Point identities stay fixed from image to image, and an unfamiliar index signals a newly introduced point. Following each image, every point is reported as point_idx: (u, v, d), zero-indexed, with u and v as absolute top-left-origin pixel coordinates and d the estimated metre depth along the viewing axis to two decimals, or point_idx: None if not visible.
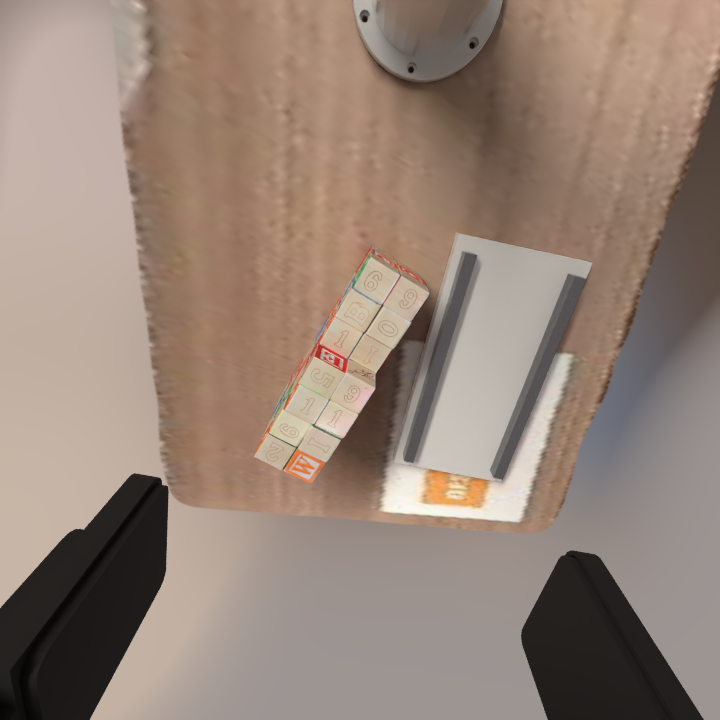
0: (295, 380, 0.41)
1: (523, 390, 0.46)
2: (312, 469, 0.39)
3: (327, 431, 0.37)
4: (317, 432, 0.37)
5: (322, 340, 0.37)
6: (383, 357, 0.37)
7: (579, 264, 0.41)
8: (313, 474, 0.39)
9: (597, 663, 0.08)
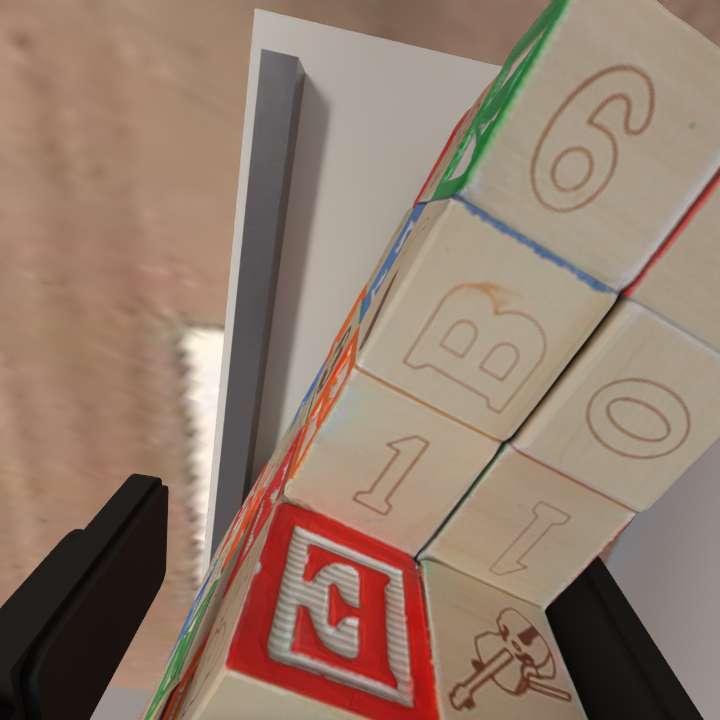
0: (217, 584, 0.12)
1: None
2: None
3: None
4: None
5: (296, 482, 0.08)
6: (590, 548, 0.08)
7: None
8: None
9: (597, 663, 0.08)
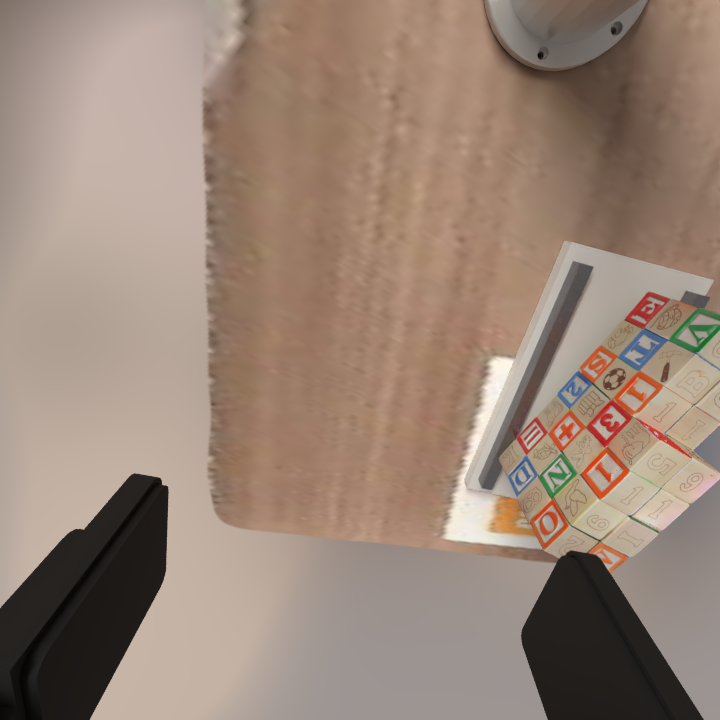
0: (569, 452, 0.35)
1: None
2: (609, 564, 0.32)
3: (644, 523, 0.31)
4: (633, 525, 0.30)
5: (639, 413, 0.30)
6: (708, 432, 0.31)
7: (699, 281, 0.37)
8: (609, 570, 0.33)
9: (597, 663, 0.08)
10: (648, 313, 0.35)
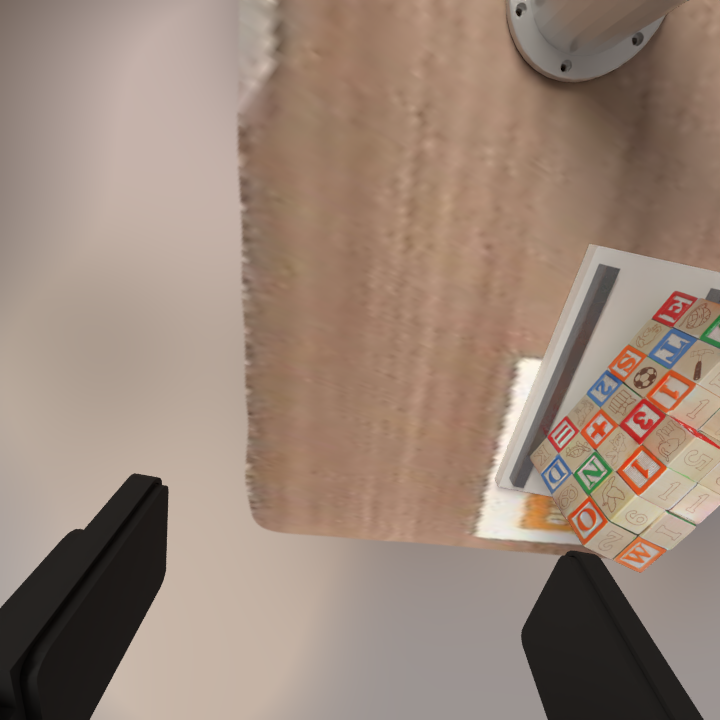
0: (603, 450, 0.36)
1: None
2: (648, 557, 0.33)
3: (682, 516, 0.32)
4: (671, 519, 0.32)
5: (673, 411, 0.31)
6: None
7: None
8: (647, 563, 0.34)
9: (597, 663, 0.08)
10: (676, 312, 0.36)
